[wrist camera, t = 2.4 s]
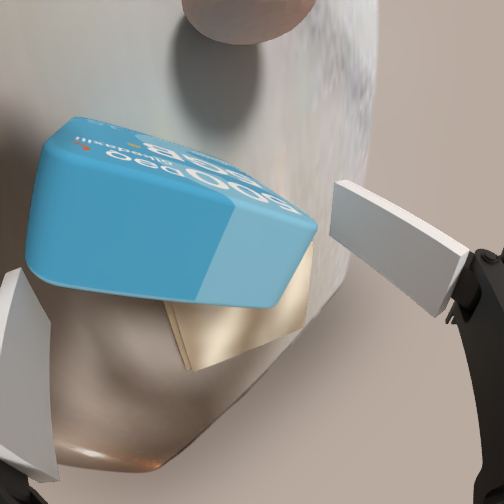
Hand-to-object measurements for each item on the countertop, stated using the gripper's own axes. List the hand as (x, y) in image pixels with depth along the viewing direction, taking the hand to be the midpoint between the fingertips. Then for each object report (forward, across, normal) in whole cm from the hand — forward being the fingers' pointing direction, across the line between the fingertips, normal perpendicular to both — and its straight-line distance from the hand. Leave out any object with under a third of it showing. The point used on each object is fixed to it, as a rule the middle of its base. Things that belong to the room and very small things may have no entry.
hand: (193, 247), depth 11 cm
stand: (+11, +6, -14) cm, 19 cm away
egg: (+11, +6, +11) cm, 17 cm away
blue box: (+12, 0, 0) cm, 12 cm away
